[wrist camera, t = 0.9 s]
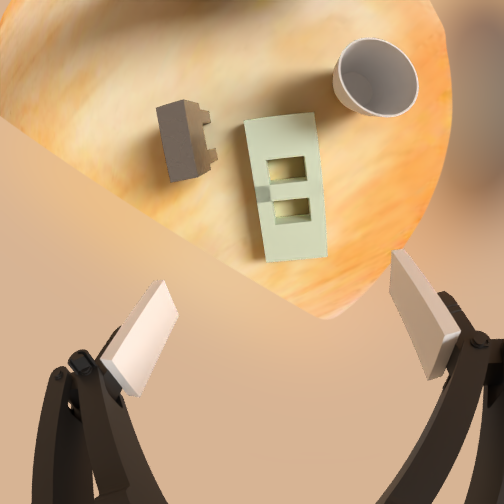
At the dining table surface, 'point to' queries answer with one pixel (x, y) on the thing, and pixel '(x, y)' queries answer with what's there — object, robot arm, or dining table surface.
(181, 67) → the dining table surface
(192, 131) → the grey foam block
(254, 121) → the block with rectangular hole
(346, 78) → the cup
